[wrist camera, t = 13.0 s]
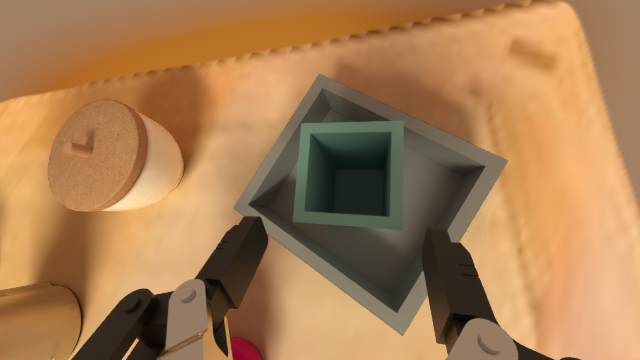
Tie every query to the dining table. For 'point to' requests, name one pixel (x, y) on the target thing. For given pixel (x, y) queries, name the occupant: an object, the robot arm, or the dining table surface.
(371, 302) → the tray
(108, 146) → the lidded jar
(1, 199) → the dining table surface
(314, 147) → the teal crate
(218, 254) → the robot arm
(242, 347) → the pepper mill
